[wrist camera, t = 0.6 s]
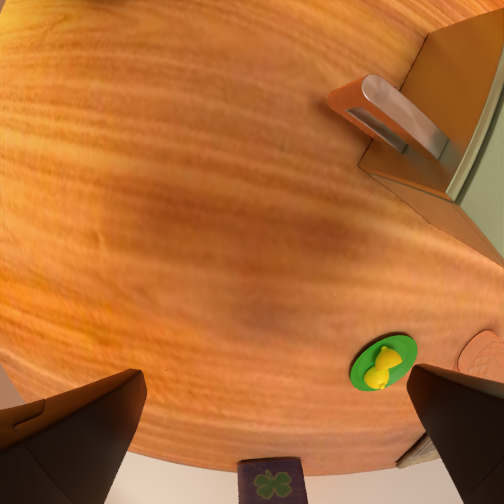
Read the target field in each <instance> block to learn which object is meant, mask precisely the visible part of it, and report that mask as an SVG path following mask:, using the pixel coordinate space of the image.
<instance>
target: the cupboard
mask: <svg viewBox="0 0 504 504" xmlns="http://www.w3.org/2000/svg"><path fill="white" fill-rule="evenodd" d="M368 174H369V175H370V176H372V177H373V178H374V179H376V180H377V181H378V182H380V183H381V184H382V185H384V186H385V187H386V188H387V189H389V190H390V191H391V192H393V193H394V194H395V195H396V196H398V197H399V198H400V199H401V200H403V201H404V202H405V203H406V204H408V205H409V206H410V207H411V208H412V209H414V210H415V211H416V212H417V213H418V214H420V215H421V216H422V217H423V218H424V219H425V220H427V221H428V222H429V223H430V224H431V225H433V226H435V227H437V228H438V229H440V230H442V231H444V232H446V233H447V234H449V235H451V236H453V237H454V238H456V239H458V240H459V241H461V242H463V243H465V244H466V245H468V246H470V247H471V248H473V249H475V250H476V251H478V252H479V253H481V254H483V255H484V256H486V257H487V258H489V259H490V260H492V261H494V262H495V263H497V264H498V265H500V266H501V267H503V268H504V84H503V88H502V91H501V94H500V97H499V100H498V103H497V106H496V109H495V112H494V115H493V117H492V120H491V123H490V125H489V128H488V131H487V133H486V136H485V138H484V140H483V143H482V145H481V148H480V150H479V152H478V155H477V157H476V159H475V161H474V163H473V166H472V168H471V170H470V172H469V174H468V176H467V178H466V180H465V182H464V184H463V186H462V188H461V190H460V192H459V194H458V196H457V198H456V200H455V201H454V202H453V201H450V200H448V199H445V198H442V197H440V196H437V195H435V194H432V193H429V192H426V191H424V190H421V189H418V188H415V187H412V186H410V185H407V184H404V183H401V182H398V181H395V180H392V179H388V178H385V177H382V176H379V175H376V174H372V173H369V172H368Z"/></svg>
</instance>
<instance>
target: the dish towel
mask: <svg viewBox="0 0 504 504" xmlns="http://www.w3.org/2000/svg"><path fill="white" fill-rule="evenodd" d="M437 458H441V457H440V456H439V454H438V452H437V450H436V448H435V446H434V444H433V443H432V441H431V439H430V437H429V435H428V434H426V435H425V436H424V437H423V439H422V440H421V441H420V442H419V443H418V444H417V445H416V446H415V447H414V448H413V449H411V450H410V451H409V452H408V453H407V454H406V455H405V456H404V457H403V458H402V459H401V460H400V461H399V462H398V463H397V464H396V466H397V467H398V468H399V469H401V468H405V467H407V466H411V465H415V464H419V463H422V462H426V461H431V460H435V459H437Z"/></svg>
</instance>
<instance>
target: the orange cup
mask: <svg viewBox="0 0 504 504" xmlns="http://www.w3.org/2000/svg"><path fill="white" fill-rule="evenodd" d="M458 368H459V370H460V371H461V372H462V373H463V374H467V375H471V376H475V377H479V378H484V379H488V380H492V381H497V382H501V383H504V342H503V341H502V340H500V339H499V338H498V337H497V336H496V335H495V334H494V333H493V332H492V331H488V330H485V331H483V332H481V333H479V334H477V335H476V336H475V337H474V338H473V339H472V340H471V341H470V342H469V343H468V344H467V345H466V347H465V348H464V350H463V351H462V353H461V355H460V357H459V359H458Z"/></svg>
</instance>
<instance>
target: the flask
mask: <svg viewBox="0 0 504 504" xmlns="http://www.w3.org/2000/svg"><path fill="white" fill-rule="evenodd" d="M237 473H238V492H239V496H238V497H239V504H308V499H307V493H306V489H305V482H304V475H303V469H302V465H301V461H300V458H297V457H283V458H282V457H281V458H280V457H279V458H271V459H255V460H246V461H240V462H239V463H238V465H237Z"/></svg>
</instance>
